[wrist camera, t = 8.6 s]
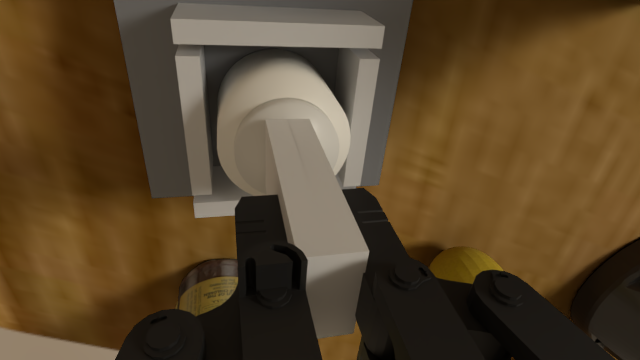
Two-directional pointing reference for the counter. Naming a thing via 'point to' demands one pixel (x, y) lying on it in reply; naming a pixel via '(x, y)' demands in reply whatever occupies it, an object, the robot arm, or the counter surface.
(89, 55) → the counter surface
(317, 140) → the robot arm
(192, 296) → the sauce bottle
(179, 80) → the knob panel
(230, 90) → the white knob
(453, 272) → the lemon
